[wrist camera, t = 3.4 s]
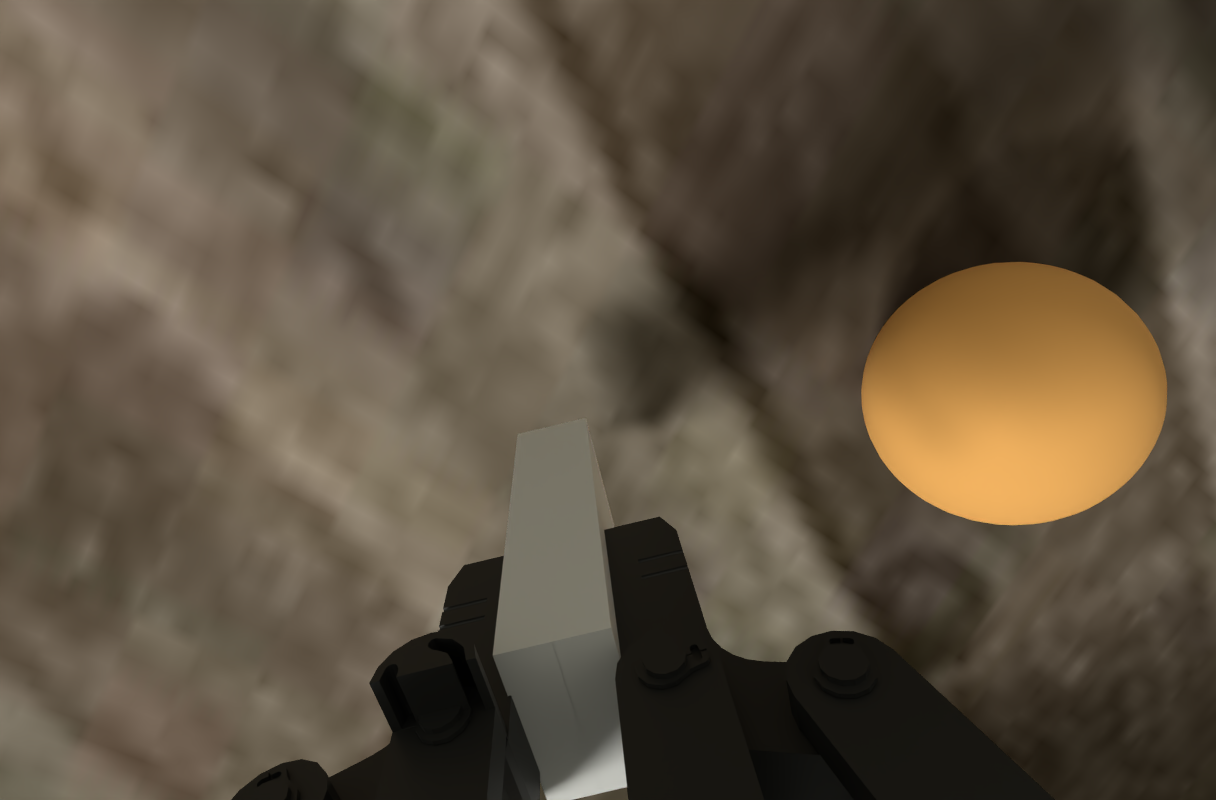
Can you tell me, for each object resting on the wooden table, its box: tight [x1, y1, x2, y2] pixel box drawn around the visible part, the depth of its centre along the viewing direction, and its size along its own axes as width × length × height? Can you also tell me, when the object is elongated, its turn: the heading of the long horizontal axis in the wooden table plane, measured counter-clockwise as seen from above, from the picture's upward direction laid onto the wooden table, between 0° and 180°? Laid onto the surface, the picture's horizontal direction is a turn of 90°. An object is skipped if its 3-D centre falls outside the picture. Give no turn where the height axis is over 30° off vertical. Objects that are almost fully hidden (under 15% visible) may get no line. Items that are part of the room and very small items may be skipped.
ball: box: [861, 262, 1167, 525], centre depth 14 cm, size 6×6×6 cm
